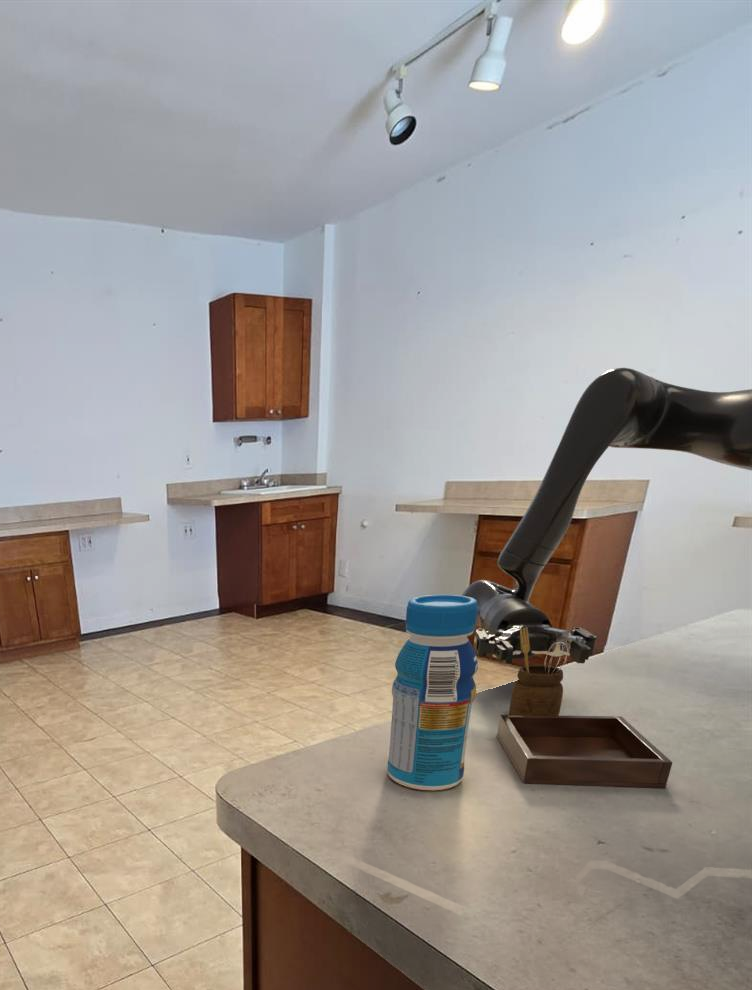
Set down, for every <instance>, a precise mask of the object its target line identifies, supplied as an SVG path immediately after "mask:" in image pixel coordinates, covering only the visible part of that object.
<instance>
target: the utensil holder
mask: <svg viewBox="0 0 752 990" xmlns="http://www.w3.org/2000/svg"><path fill="white" fill-rule="evenodd" d="M525 630H526V635H525ZM520 643H521V652H522V653H523V654H524V657H525V659H524V665H523V666H521V667H520V668H519V669H518V671H517V680H516V681H515V682H514V684H513V686H512V691H511V695H510V702H509V709H508V710H509V711H508V715H554V716H560V713H561V712H560V711H561V706H562V702H563V701H562V700H563V695H564V687H563V684H562V681H563V679H564V671H563V669H562V667H563V666H564V664H565V662H566V661H567V657H568V656H567V655H568V654H567V655H565V658H564V661H563V663H562V665H560V667H557V666H558V664H559V663H560V661H561V658H562V656H563V655H560V656H559V658H558V661H557V663H556V665H555V666H553V665H552V661H553V658H554V656H553V655H554V654H552V656H551V657H550V660H549V663H548V664H549V665H547V658H548V656H549V655H548V653H549V651H548V653H547V655H546V656H545V659H544V663H543V664H529V658H528V652H529V650H530V645H529V636H528V628H527V627H526V628H523V634H522V629H520ZM556 643H557V642H556ZM559 643H560V644H561V643H563V644H564V647H565V643H564V642H559ZM559 643H558V644H559ZM563 644H562V649H563ZM552 646H553V645H552ZM552 646H551V647H552ZM557 646H558V645H557ZM568 646H569V644H568V643H567V644H566V648H567V653H568V652H569V650H570V648H569V647H568ZM551 647H550V648H551ZM556 648H557V647H556ZM556 648H555V647H554V649H553V650H554V651H555V650H556ZM551 649H552V648H551ZM549 650H550V649H549ZM563 651H564V649H563ZM553 653H555V652H553ZM561 653H563V652H561Z"/></svg>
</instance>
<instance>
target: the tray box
mask: <svg viewBox="0 0 752 990" xmlns="http://www.w3.org/2000/svg"><path fill="white" fill-rule="evenodd" d="M496 737H497V739H498V741H499V743H500V744H501V745H502V748H503V750H504V751H505V753H506V755H507V756H508V758H509V760H510V762H511V764H512V766H513V767H514V769H515V771H516V772H517V774H518V776H519V778H520V780H521V781H522V783H523V784H537V785H539V784H540V785H566V786H567V785H571V786H593V787H594V786H597V787H623V788H624V787H625V788H650V789H651V788H653V789H666V788H667V783H668V781H669V776H670V774H671V769H672V766H673V762H672V760H671V759H669V758H668V757H667V756H666V755H665V754H664V753H663V752H662V751H660V750H659V748H657V747H656V746H655V745H654V744H653V743H652V742H650V740H648V739H647V738H646V737H645V736H644V735H643V734H641V732H639V730H637V728H635V727H634V726H633V725H632V724H631V723H630V722H628V721H627V720H626V719H625V718H624V717H623V716H614V715H613V716H612V715H559V716H554V715H509V714H500V715H499V720H498V727H497V734H496Z"/></svg>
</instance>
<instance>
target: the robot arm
mask: <svg viewBox="0 0 752 990" xmlns="http://www.w3.org/2000/svg"><path fill="white" fill-rule="evenodd" d="M609 447H610V448H616V449H642V450H643V449H646V450H663V451H675V452H681V453H686V454H687V453H688V454H691V455H695V456H698V457H701V458H703V459H707V460H710V461H713V462H716V463H719V464H723V465H727V466H731V467H734V468H738V469H742V470H747V471H751V472H752V388H750V389H742V390H734V391H722V392H721V391H720V392H718V391H708V390H700V389H695V388H690V387H685V386H680V385H675V384H672V383H668V382H664V381H662V380H659V379H657V378H655V377H653V376H649V375H647V374H645V373H643V372H641V371H640V370H639V371H638V370H636V369H634V368H629V367H615V368H612V369H609V370H607V371H606V372H603V373H601V374H600V375H598V376H597V377H596V378H595V379H594V380H593V381H592V382H591V383H590V384H588V386H587V387H586V388H585V390H584V391H583V392H582V394H581V396H580V397H579V400H578V401H577V403H576V405H575V408H574V410H573V412H572V414H571V415H570V418H569V420H568V423H567V425H566V427H565V429H564V432H563V435H562V437H561V439H560V441H559V444H558V446H557V448H556V450H555V452H554V455H553V457H552V459H551V461H550V463H549V465H548V468H547V469H546V472H545V474H544V477H543V479H542V480H541V483H540V485H539V487H538V489H537V491H536V493H535V495H534V497H533V499H532V501H531V502H530V504H529V506H528V508H527V510H526V512H525V513H524V515H523V517H522V518H521V520H520V521H519V523H518V524H517V526H516V528H515V529H514V531H513V532H512V535H511V536H510V538H509V539H508V541H507V542H506V544H505V546H504V547H503V548H502V550H501V552H500V554H499V555H498V558H497V567H498V568H499V569H500V570H501V571H502V572H504V573H505V574H507V575H508V576H510V577H511V578H513V579H514V581H515V584H514V587H513V589H511V588H508V587H506V586H504V585H501V584H498V583H496V582H493V581H490V580H487V579H479V580H476V581H474V582H472V583H471V584H470V585H468V586H467V587H466V588H465V589H464V591H463V592H462V594H461V596H467V597H471V598H474V599H476V600H477V603H478V604H477V606H478V611H477V618H476V625H475V627H478V628H477V629H476V628H475V629H474V631H475V632H474V640H473V649H474V651H475V653H476V656H477V657H482V658H483V657H487V656H488V654H492V657H493V658H495V659H498V660H499V661H502V662H503V663H504V664H506V665H508V664H509V665H511V664H512V662H513V660H525V657H524V654H523V653H522V652H521V643H520V629H522V634H523V628H526V627H527V628H528V636H529V645H530V650H529V652H528V659H529V658H532V657H533V656H535V655H546V656H551V657H555V658H556V657H557V658H558V657H561V656H560V655H562V656H566V655H567V654H568V655H567V657H569V658H571V660H573V661H574V662H575V663H576V664H585V663H586V661H589V659H590V656H594V653H595V651H594V650H595V647H596V641H597V638H598V636H597V635H595V634H593V633H592V632H590V631H587V630H586V629H585V628H583V627H580V626H575V627H572V628H571V632H569V630H566V629H560V628H554V627H553V625H552V623H551V620H550V619H549V617H548V616H547V615H546V613H544V611H542V610H540V609H539V608H538V607H536V606H535V605H534V604H532V603H530V599H531V596H532V594H533V591H534V588H535V586H536V583H537V581H538V579H539V577H540V576H541V573H542V572H543V570H544V568H545V567H546V565H547V564H548V562H549V561H550V560H551V558H552V556H553V555H554V553H555V552H556V550H557V549H558V547H559V546H560V544H561V542H562V540H563V539H564V537H565V536H566V534H567V531H568V529H569V527H570V524H571V522H572V519H573V517H574V513H575V510H576V507H577V504H578V500H579V498H580V495H581V492H582V490H583V487H584V486H585V483H586V482H587V481H586V480H587V479H588V477H589V475H590V474H591V472H592V470H593V469H594V467H595V465H596V464H597V463H598V461H599V459H600V458H601V457H602V456H603V454H604V453H605V452H606V451H607V450H608V449H609ZM525 635H526V630H525ZM556 642H557V643H556ZM559 642H564V643H565V647H564V644H563V643H561V644H560V643H559ZM558 643H559V644H558ZM562 644H563V649H564V651H563V649H562ZM566 644H567V645H568V646H567V645H566ZM552 645H553V646H552ZM557 645H558V646H557ZM551 646H552V647H551ZM566 646H567V647H566ZM550 647H551V648H550ZM556 647H557V648H556ZM568 647H569V652H568V653H567V649H568ZM552 648H554V649H552ZM555 648H556V650H555ZM549 649H550V650H549ZM554 650H555V651H554ZM548 651H549V653H548ZM553 652H555V653H553ZM561 652H563V653H561ZM547 653H548V655H547ZM552 654H554V655H553V656H552Z"/></svg>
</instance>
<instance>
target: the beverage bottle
mask: <svg viewBox="0 0 752 990" xmlns="http://www.w3.org/2000/svg"><path fill="white" fill-rule="evenodd" d="M477 604H478V603H477V600H476V599H474V598H471V597H467V596H462V595H461V594H460V595H459V594H429V595H428V594H427V595H422V596H416V597H413V598H411V599H409V600H408V602H407V606H406V612H405V629H406V630H405V631H406V634H408V635H409V636H410V637H409V638H408V639H407V640H406V641H405V643H404V644H403V645H402V647H401V649H400V651H399V652H398V654H397V657H396V659H395V662H394V668H395V670H396V672H397V673H396V676H395V678H394V680H393V682H392V684H391V685H392V687H391V695H392V710H391V723H390V740H389V752H388V760H387V766H386V769H387V770H386V771H387V774H388V776H389V778H390V779H392V780H393V782H395V783H397V784H400V785H402V786H404V787H406V788H410V789H415V790H420V791H442V790H447V789H450V788H453V787H456V786H457V785H459V784H460V783H461V781H462V780H463V778H464V772H465V756H466V747H467V741H468V735H469V734H468V733H469V726H470V720H471V719H470V718H471V713H472V706H473V702H474V701H475V699H476V695H477V684H476V682H475V680H474V675H475V674H476V673H477V672H478V670H479V669H478V668H479V662H478V661H479V660H478V655H477V653H476V651H475V649H474V646H473V644H472V643H471V641H470V639H469V638H468V637H469V636H471V635H473V633H475V632H474V631H475V630H476V618H477V611H478V606H477Z"/></svg>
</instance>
